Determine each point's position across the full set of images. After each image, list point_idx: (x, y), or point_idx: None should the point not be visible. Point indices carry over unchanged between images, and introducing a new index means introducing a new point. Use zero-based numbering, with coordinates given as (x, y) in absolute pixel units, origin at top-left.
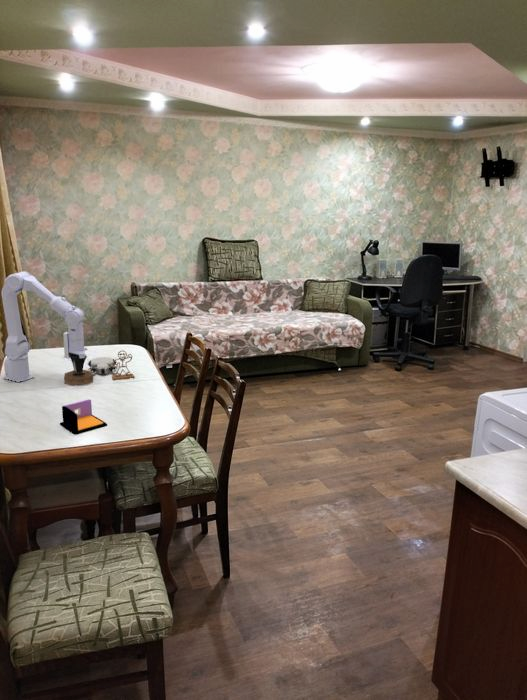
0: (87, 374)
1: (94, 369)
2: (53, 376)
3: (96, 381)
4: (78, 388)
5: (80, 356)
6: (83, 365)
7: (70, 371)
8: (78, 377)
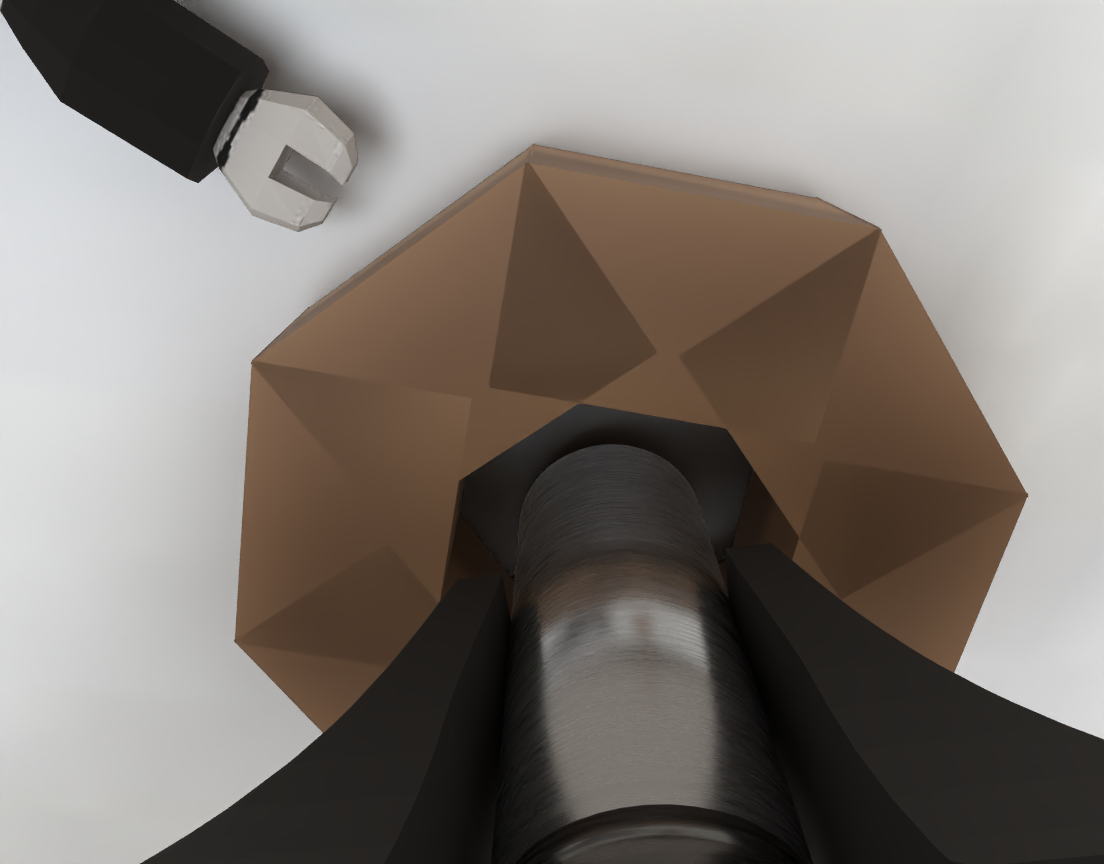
0: (758, 363)
1: (196, 42)
2: (137, 856)
3: (813, 101)
4: (1093, 561)
5: None
6: (877, 628)
7: (315, 712)
8: (907, 612)
